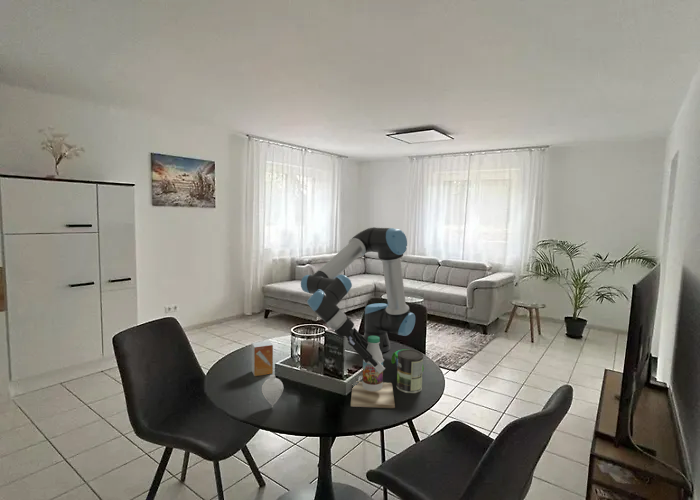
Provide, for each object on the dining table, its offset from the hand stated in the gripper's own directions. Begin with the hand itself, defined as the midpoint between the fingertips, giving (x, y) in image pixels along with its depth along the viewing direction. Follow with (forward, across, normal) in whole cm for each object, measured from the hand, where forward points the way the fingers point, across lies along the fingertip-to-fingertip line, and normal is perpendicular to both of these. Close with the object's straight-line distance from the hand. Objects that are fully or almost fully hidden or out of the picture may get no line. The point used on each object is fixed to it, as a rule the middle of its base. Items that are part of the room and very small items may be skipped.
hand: (382, 366), depth 147 cm
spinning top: (-19, +12, -36) cm, 43 cm away
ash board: (+6, 0, -11) cm, 12 cm away
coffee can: (+17, -8, 0) cm, 19 cm away
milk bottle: (+4, 0, -9) cm, 9 cm away
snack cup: (+17, -19, 0) cm, 25 cm away
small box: (-28, -17, -45) cm, 55 cm away
